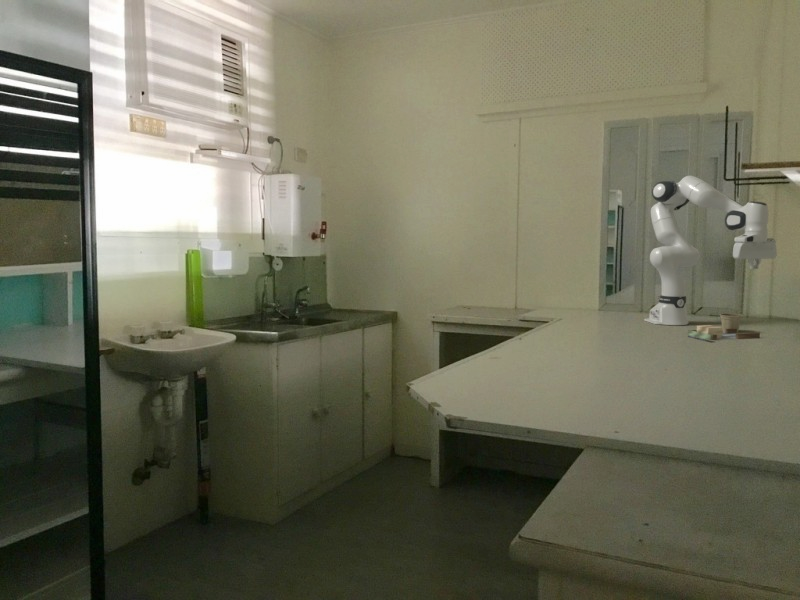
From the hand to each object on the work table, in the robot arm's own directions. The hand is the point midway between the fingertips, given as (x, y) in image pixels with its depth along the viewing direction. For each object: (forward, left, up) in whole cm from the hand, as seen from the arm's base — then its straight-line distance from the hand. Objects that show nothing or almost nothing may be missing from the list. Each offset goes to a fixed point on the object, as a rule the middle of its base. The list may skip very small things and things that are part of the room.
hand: (754, 269), depth 277 cm
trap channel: (+9, -22, -29) cm, 38 cm away
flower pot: (-2, -9, -29) cm, 31 cm away
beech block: (+9, -29, -28) cm, 41 cm away
